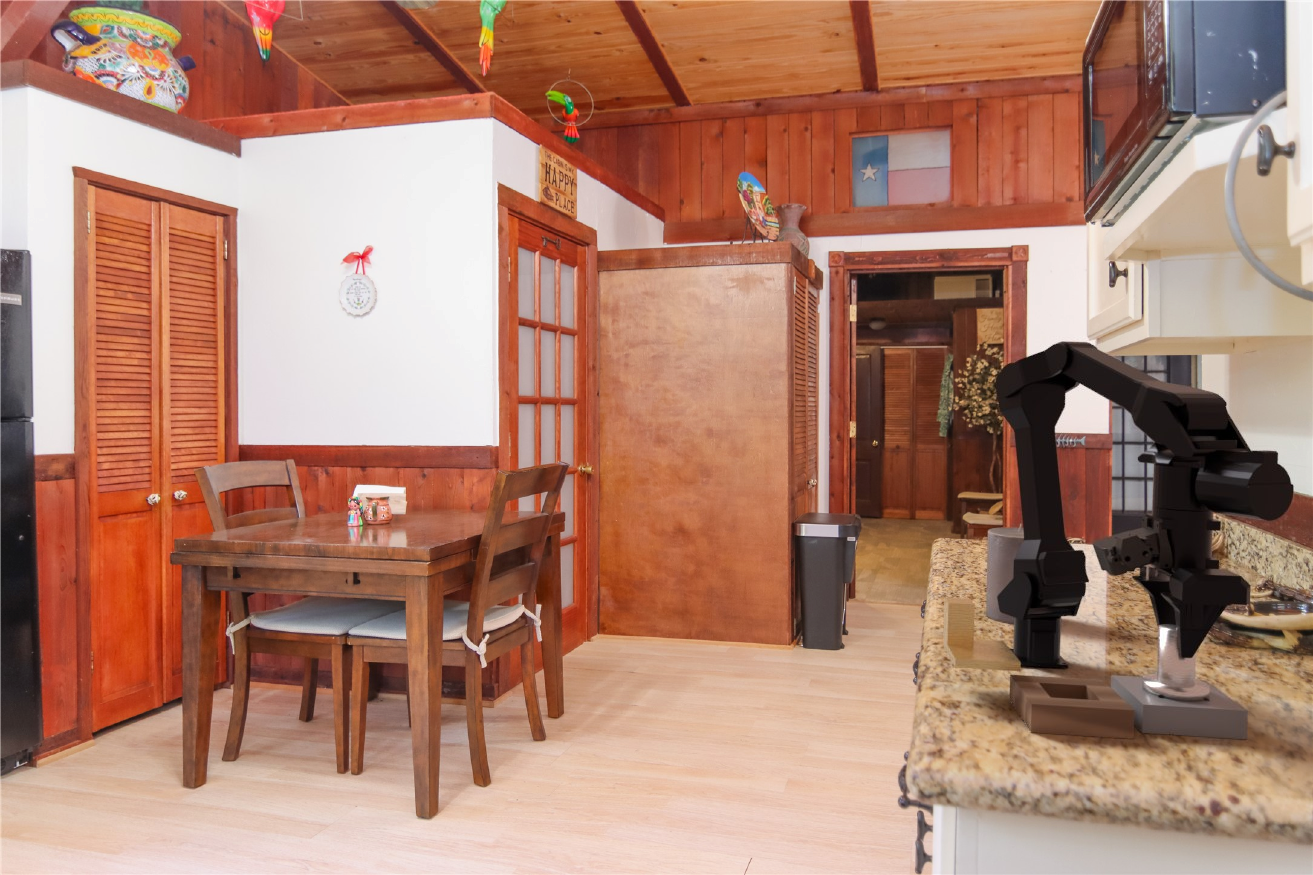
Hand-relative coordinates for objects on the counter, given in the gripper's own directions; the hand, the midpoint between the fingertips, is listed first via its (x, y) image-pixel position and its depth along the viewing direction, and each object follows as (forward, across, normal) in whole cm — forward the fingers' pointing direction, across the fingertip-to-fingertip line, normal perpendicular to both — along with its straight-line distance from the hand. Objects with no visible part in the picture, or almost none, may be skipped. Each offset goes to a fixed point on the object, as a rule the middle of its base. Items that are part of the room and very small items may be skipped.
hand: (1176, 650), depth 98 cm
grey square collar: (+8, 0, 0) cm, 8 cm away
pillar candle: (+8, -44, -6) cm, 45 cm away
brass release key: (+3, -5, -19) cm, 20 cm away
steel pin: (+8, 0, 0) cm, 8 cm away
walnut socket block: (+8, +2, -12) cm, 14 cm away
